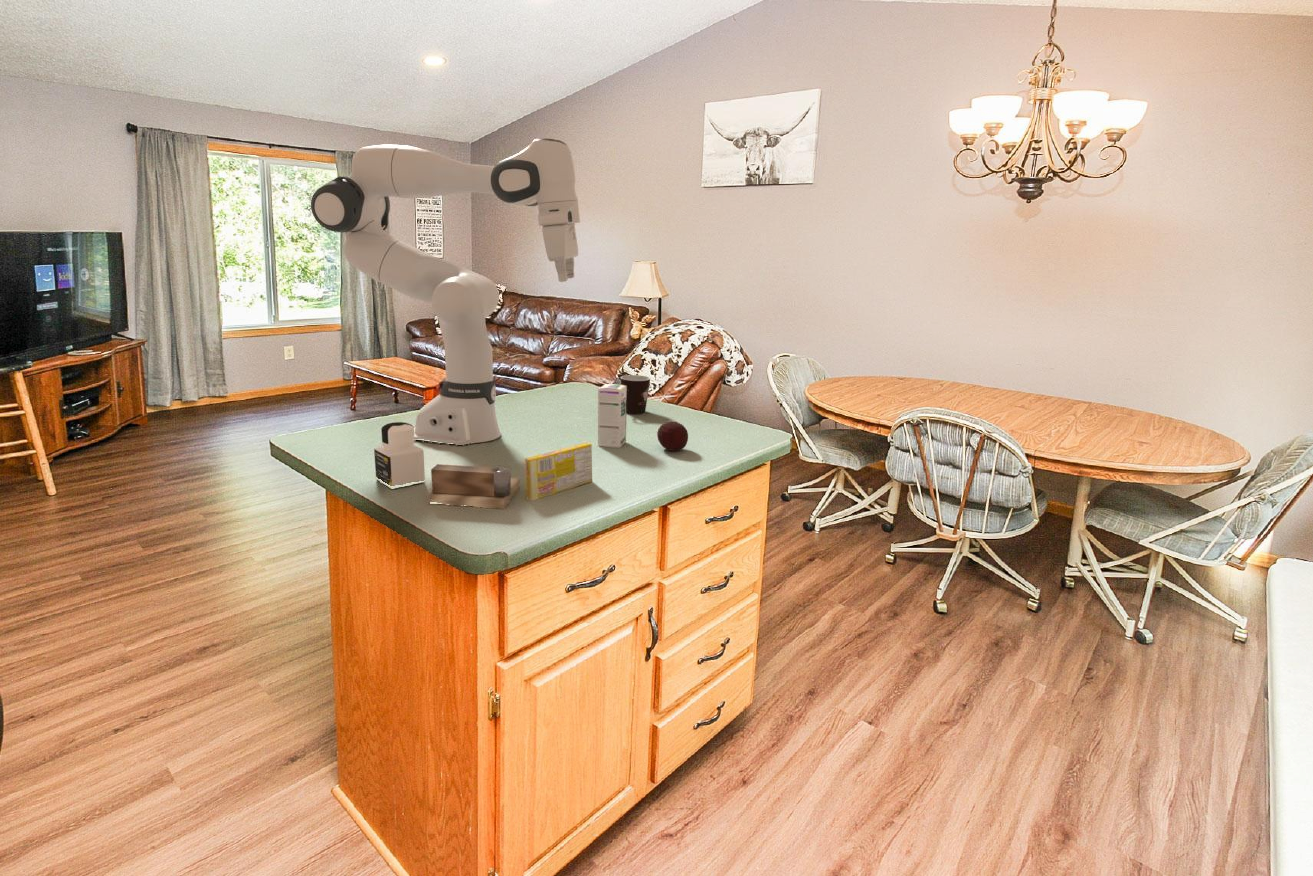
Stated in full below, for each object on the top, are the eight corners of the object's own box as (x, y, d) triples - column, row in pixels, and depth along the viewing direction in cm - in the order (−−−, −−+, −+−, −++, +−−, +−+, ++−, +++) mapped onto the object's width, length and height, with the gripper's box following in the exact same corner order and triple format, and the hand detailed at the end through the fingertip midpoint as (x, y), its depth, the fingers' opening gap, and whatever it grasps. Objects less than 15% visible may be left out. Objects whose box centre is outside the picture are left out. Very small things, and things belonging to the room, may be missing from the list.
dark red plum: (673, 456, 171) (675, 427, 170) (650, 449, 177) (651, 420, 175) (694, 450, 177) (695, 422, 175) (670, 443, 182) (672, 416, 180)
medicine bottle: (375, 481, 147) (371, 423, 144) (409, 474, 152) (406, 418, 149) (391, 490, 142) (388, 430, 139) (425, 483, 147) (423, 425, 144)
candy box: (585, 480, 153) (586, 441, 151) (593, 482, 152) (593, 444, 149) (524, 498, 141) (524, 457, 139) (531, 501, 140) (531, 459, 138)
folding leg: (513, 491, 138) (512, 468, 137) (507, 497, 134) (507, 474, 133) (438, 486, 139) (437, 463, 138) (431, 492, 135) (430, 469, 134)
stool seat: (429, 504, 136) (428, 494, 135) (451, 483, 147) (450, 473, 147) (503, 509, 135) (503, 498, 134) (519, 487, 146) (519, 478, 146)
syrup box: (620, 448, 176) (622, 389, 172) (596, 446, 177) (597, 387, 173) (626, 442, 182) (627, 384, 178) (603, 440, 183) (604, 382, 179)
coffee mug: (636, 407, 219) (637, 374, 216) (655, 413, 212) (656, 379, 210) (605, 411, 212) (605, 377, 209) (623, 417, 205) (624, 382, 203)
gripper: (554, 217, 172) (561, 277, 176) (535, 217, 153) (544, 284, 156) (580, 215, 172) (587, 275, 176) (565, 214, 152) (573, 282, 156)
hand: (567, 279), depth 166 cm, fingers open, 8 cm apart
